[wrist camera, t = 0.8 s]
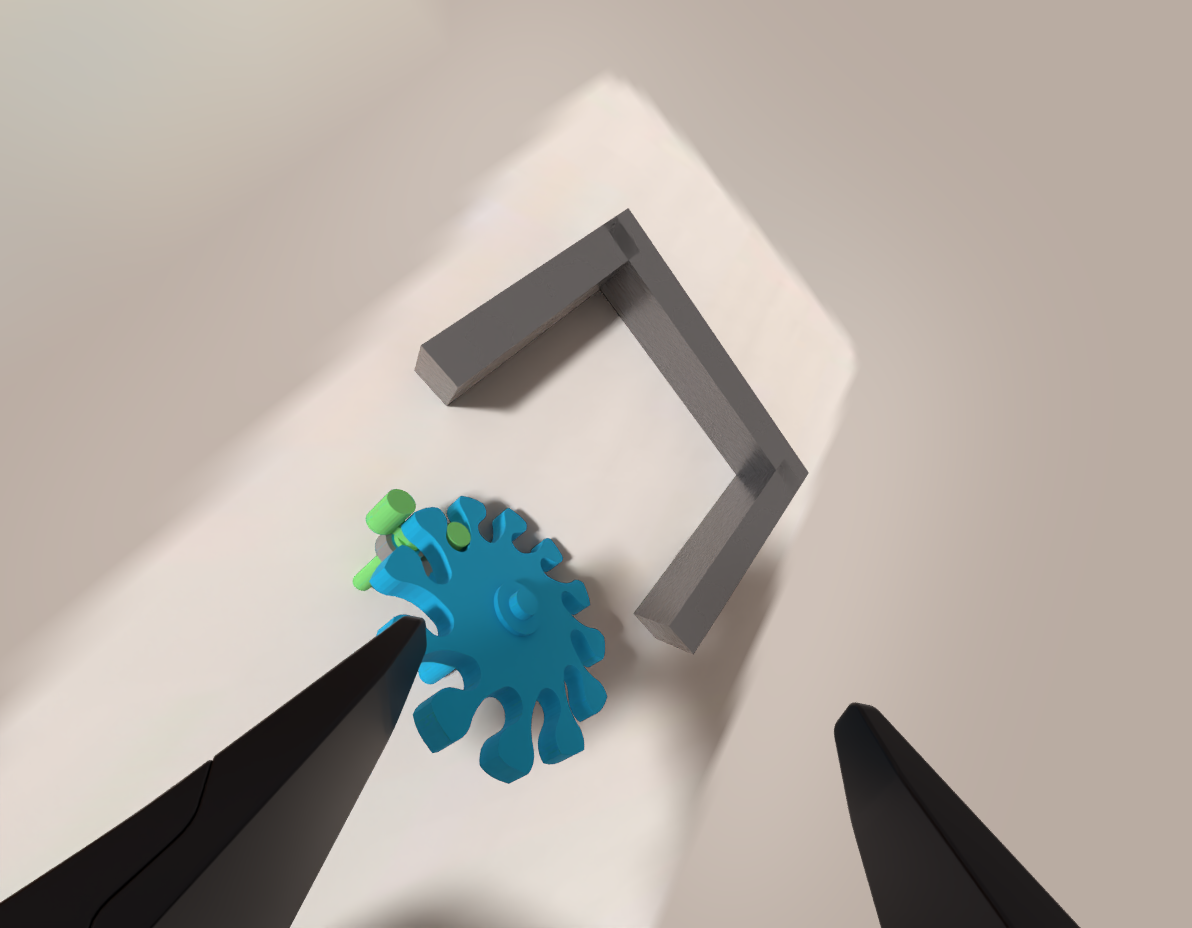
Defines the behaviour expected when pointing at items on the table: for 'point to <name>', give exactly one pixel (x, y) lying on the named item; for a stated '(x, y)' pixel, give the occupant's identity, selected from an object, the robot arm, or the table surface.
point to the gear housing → (695, 372)
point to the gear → (489, 628)
